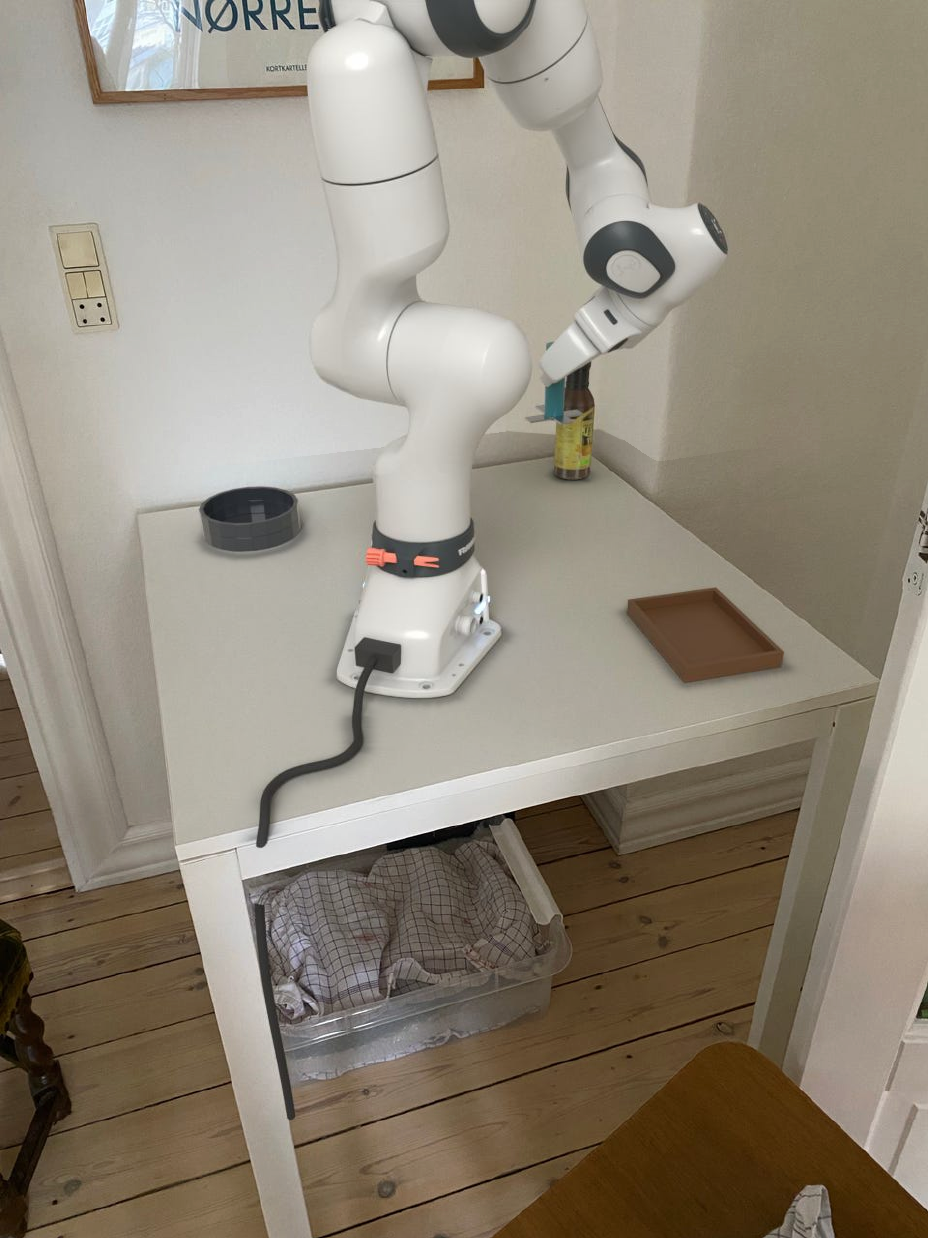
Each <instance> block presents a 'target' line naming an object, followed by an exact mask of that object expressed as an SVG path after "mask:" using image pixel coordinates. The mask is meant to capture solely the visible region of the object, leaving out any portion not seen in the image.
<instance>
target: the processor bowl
mask: <svg viewBox="0 0 928 1238" xmlns="http://www.w3.org/2000/svg"><path fill="white" fill-rule="evenodd" d="M299 505H300V504H299V500H298V498H297V496H296V495H295V494H294V493H292V492H290V491H289V490H287V489H283V488H279V487H275V486H274V487H273V486H262V485H260V486H258V485H257V486H245V487H237V488H232V489H229V490H224V491H221V492H218V493H216V494H213V495H211V496H209V497H208V498H206V499H205V500H204V501H202V502H201V503H200V506H199V508H198V512H199V518H200V525H201V532H202V536H203V539H204V541H205V542H206V543H207V544H208V545H209V546H211V547H213V548H215V549H219V550H223V551H226V552H237V553H238V552H239V553H240V552H241V553H245V552H259V551H264V550H270V549H272V548H276V547H279V546H281V545H284V544H287V543H288V542H289V541H291V540H293V539H294V538H295V537H296V536H298V534H299V533H300V531H301V526H302V524H301V515H300V506H299Z"/></svg>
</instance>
